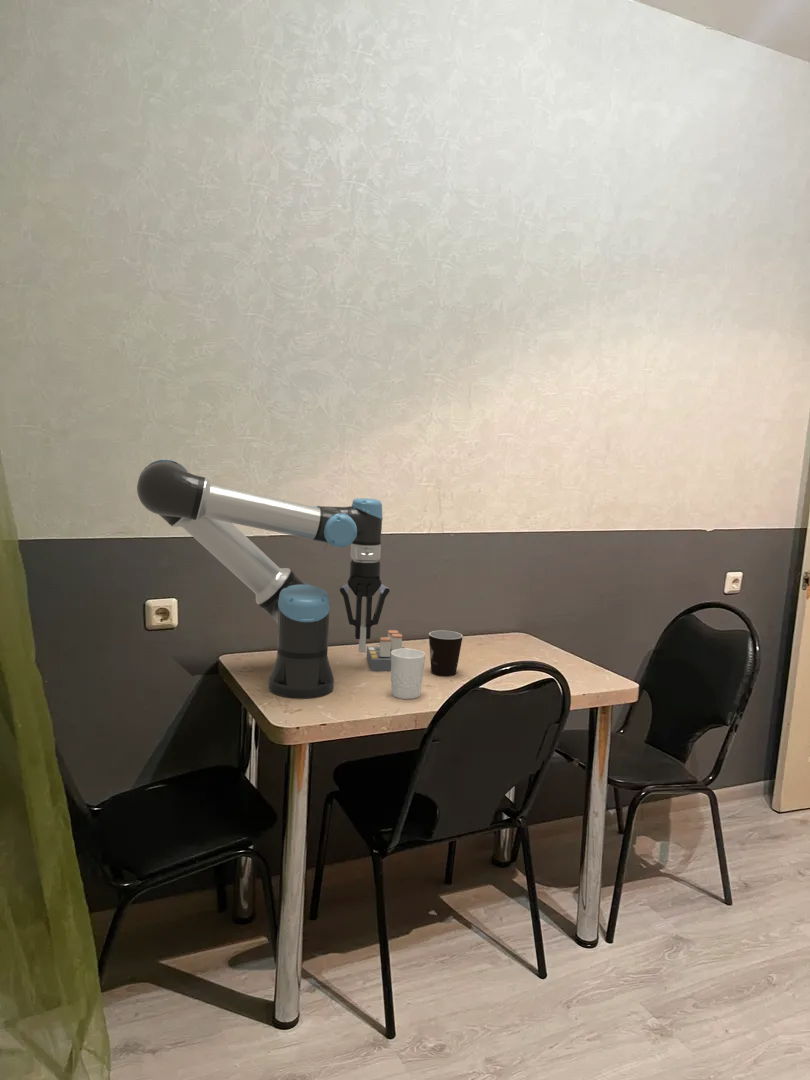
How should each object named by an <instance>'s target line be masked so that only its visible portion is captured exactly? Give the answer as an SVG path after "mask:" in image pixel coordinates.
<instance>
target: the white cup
mask: <svg viewBox="0 0 810 1080" xmlns="http://www.w3.org/2000/svg"><path fill="white" fill-rule="evenodd" d="M425 656H426V653H425V652H424V651H423V650H419V649H415V648H406V647H404V649H396V650H393V651H392V652H391V671H390V683H391V687H390V688H391V695H392V696H393V697H394V698H398V699H403V700H414V699H417V698H419V697H421V689H422V685H423V676H424V668H425V667H424V666H425Z"/></svg>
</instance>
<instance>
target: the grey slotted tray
mask: <svg viewBox="0 0 810 1080" xmlns="http://www.w3.org/2000/svg"><path fill="white" fill-rule="evenodd" d="M404 648H405V646H402V649H404ZM379 652H380V646H366V659H367V662H368V665H369V668H370V670H371V672H391V652H392V651H391V649H390V657H380V654H379Z"/></svg>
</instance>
